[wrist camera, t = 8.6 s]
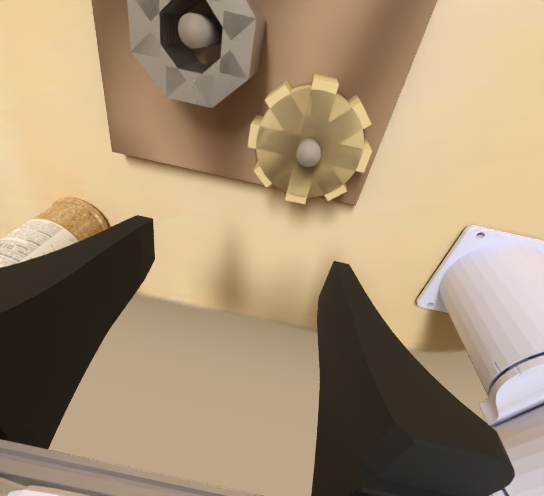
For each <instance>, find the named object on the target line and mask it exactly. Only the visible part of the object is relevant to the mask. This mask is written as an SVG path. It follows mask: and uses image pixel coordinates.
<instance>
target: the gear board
mask: <svg viewBox="0 0 544 496" xmlns="http://www.w3.org/2000/svg"><path fill="white" fill-rule="evenodd" d="M256 2H257V4H258V6H259V8H260V9H261V11H262V13H263V15H264V17H265V18H266V26H265V33H264V40H263V47H262V54H261V61H260V68H259V71H258V72H257V73H256V74H255V75H253V76H252V77H251V78H250V79H248V80H247V81H246V82H244V83H243V84H242V85H241V86H239V87H238V88H237V89H236V90H234V91H233V92H232V93H231V94H229V95H228V96H227V97H226V98H224V99H223V100H222V101H221V102H219V103H218V104H217V105H215V106H214V107H213V108H209V107H205V106H200V105H196V104H192V103H187V102H183V101H179V100H174V99H170V98H166V96H165V95H164V94H163V93H162V91H161V90H160V89H159V87H158V86H157V85H156V83H155V82H154V81H153V80H152V78H151V77H150V76H149V74H148V73H147V72H146V71H145V69H144V68H143V67H142V65H141V64H140V63H139V61H138V60H137V59H136V58H135V56H134V55H133V54H132V52H131V44H130V31H129V18H128V5H127V0H92V7H93V15H94V22H95V29H96V37H97V44H98V51H99V59H100V66H101V73H102V81H103V88H104V95H105V103H106V110H107V118H108V125H109V132H110V140H111V147H112V152H116V153H120V154H125V155H130V156H134V157H139V158H143V159H148V160H152V161H157V162H161V163H166V164H170V165H175V166H180V167H184V168H189V169H193V170H198V171H202V172H207V173H211V174H216V175H220V176H225V177H230V178H234V179H239V180H243V181H248V182H252V183H257V184H261V185H264V186H265V187H268V186H270V187H275V188H279V189H280V190H282V191H284V192H286V197H285V200H287V201H292V202H296V203H301V204H305V203H306V199H307V197H320V198H325V199H327V200H328V201H330V200H334V201H339V202H343V203H348V204H352V205H356V203H357V200H358V198H359V195H360V193H361V190H362V188H363V185H364V183H365V180H366V178H367V175H368V173H369V170H370V168H371V165H372V163H373V160H374V158H375V155H376V153H377V150H378V148H379V145H380V143H381V140H382V138H383V135H384V133H385V130H386V127H387V125H388V122H389V120H390V117H391V115H392V112H393V110H394V107H395V105H396V102H397V100H398V97H399V95H400V92H401V90H402V87H403V85H404V82H405V80H406V77H407V75H408V72H409V70H410V67H411V65H412V62H413V60H414V57H415V55H416V52H417V50H418V47H419V45H420V42H421V40H422V37H423V34H424V32H425V29H426V27H427V24H428V22H429V19H430V17H431V14H432V12H433V9H434V7H435V4H436V2H437V0H256ZM222 31H223V27H222V25H221V24H220V22H219V20H218V19H217V17H216V15H215V14H214V12H213V11H212V9H211V7H210V6H209V4H208V2H207V1H206V0H201V1H200V2H199V3H198V4H197V5H196V6H195V7H194V8H193V9H192V10H191V11H190V12H189V13H187V14H185V15H183V16H182V17H181V19H180V21H179V24H178V32H179V36H180V38H181V40H182V41H183V43H184V44H185V45H186V46H188V47H190V48H191V50H192V51H193V53H194V54H195V56H196V57H197V58H198V60H199V61H200V62H202V63H206V64H211V65H213V64H214V63H215V62H217V61H218V60H219V59H220V58H221V44H222Z"/></svg>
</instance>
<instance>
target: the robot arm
mask: <svg viewBox="0 0 544 496" xmlns="http://www.w3.org/2000/svg"><path fill="white" fill-rule="evenodd" d="M481 232H482V234H480V235H478V236H476V235H477V234H478V233H481ZM154 260H155V252H154V230H153V219H152V218H147V217H143V216H139V215H137V216H134V217H132V218H130V219H127V220H125V221H123V222H121V223H119V224H117V225H115V226H112V227H110V228H108V229H106V230H104V231H102V232H99V233H97V234H95V235H93V236H91V237H88V238H86V239H84V240H81V241H79V242H76V243H74V244H71V245H69V246H67V247H64V248H62V249H59V250H56V251H54V252H51V253H48V254H45V255H42V256H39V257H36V258H33V259H30V260H27V261H23V262H20V263H16V264H13V265H9V266H5V267H1V268H0V496H262V495H258V494H253V493H248V492H244V491H239V490H234V489H230V488H225V487H220V486H216V485H211V484H206V483H201V482H197V481H192V480H188V479H183V478H178V477H174V476H169V475H164V474H159V473H155V472H150V471H146V470H141V469H136V468H132V467H127V466H122V465H118V464H113V463H108V462H104V461H99V460H94V459H90V458H85V457H80V456H76V455H71V454H66V453H62V452H57V451H52V450H48V448H49V446H50V444H51V441H52V439H53V437H54V435H55V433H56V431H57V428H58V426H59V424H60V422H61V420H62V418H63V416H64V413H65V411H66V409H67V407H68V405H69V403H70V401H71V399H72V397H73V395H74V393H75V391H76V389H77V387H78V385H79V383H80V381H81V379H82V377H83V376H84V374H85V372H86V370H87V368H88V366H89V364H90V362H91V360H92V359H93V357H94V355H95V353H96V352H97V350H98V348H99V346H100V344H101V342H102V341H103V339H104V337H105V335H106V334H107V332H108V331H109V329H110V328H111V326H112V325H113V323H114V322H115V321H116V319H117V318H118V316H119V315H120V314H121V312H122V311H123V309H124V308H125V307H126V305H127V304H128V302H129V301H130V300H131V298H132V297H133V295H134V294H135V293H136V291H137V290H138V288H139V287H140V286H141V284H142V283H143V281H144V280H145V278H146V276H147V274H148V272H149V270H150V268H151V266H152V264H153V262H154ZM428 303H429V304H428ZM417 305H418V306H419V307H422V308H427V309H432V310H436V311H441V312H446V313H449V315H450V317H451V319H452V321H453V324H454V326H455V328H456V330H457V332H458V334H459V336H460V338H461V340H462V343H463V345H464V347H465V349H466V351H467V353H468V355H469V357H470V359H471V361H472V364H473V365H474V368H475V370H476V372H477V374H478V376H479V378H480V380H481V382H482V385H483V387H484V389H485V391H486V393H487V395H488V398H487V399H486V400H485V401H483V402H482V403H480V404H479V406H480V409H481V411H482V413H483V415H484V418H485V420H486V422H487V423H486V422H485V421H483V420H482V419H481V418H480V417H478V416H477V415H476V414H474V412H472V411H471V410H470V409H468V408H467V407H466V406H465V405H464V404H462V403H461V402H460V401H459V400H458V399H457V398H456V397H455V396H453V395H452V394H451V393H450V392H449V391H448V390H447V389H446V388H445V387H444V386H442V385H441V384H440V383H439V382H438V381H437V380H436V379H435V378H434V377H433V376H432V375H431V374H430V373H429V372H428V371H427V370H426V369H425V368H424V367H423V366H422V365H421V364H420V363H419V362H418V361H417V360H416V359H415V358H414V357H413V355H412V354H411V353H410V352H409V351H408V350H407V349H406V347H405V346H404V345H403V344H402V343H401V341H400V340H399V339H398V338H397V337H396V336H395V334H394V333H393V332H392V330H391V329H390V328H389V327H388V325H387V324H386V322H385V321H384V320H383V318H382V317H381V315H380V314H379V313H378V311H377V310H376V308H375V307H374V305H373V304H372V302H371V300H370V299H369V297H368V296H367V294H366V292H365V291H364V289H363V287H362V286H361V284H360V282H359V281H358V279H357V277H356V275H355V274H354V272H353V270H352V268H351V267H350V265H349V264H345V263H341V262H336V261H334V262H333V264H332V267H331V269H330V272H329V274H328V276H327V279H326V281H325V284H324V286H323V288H322V291H321V293H320V296H319V301H318V314H317V329H318V346H319V347H318V348H319V366H320V391H319V411H318V427H317V440H316V452H315V465H314V475H313V485H312V494H311V496H489V495H491V496H544V240H540V239H535V238H530V237H526V236H521V235H517V234H512V233H508V232H503V231H499V230H494V229H490V228H485V227H481V226H476V225H471V226H468V227H467V228H466V229H465V230H464V231H463V232H462V234H461V235H460V237H459V238H458V240H457V241H456V243H455V244H454V246H453V247H452V249H451V250H450V252H449V253H448V254H447V256H446V257H445V259H444V260H443V262H442V263H441V265H440V266H439V268H438V269H437V271H436V272H435V274H434V275H433V276H432V278H431V279H430V281H429V282H428V284H427V285H426V287H425V288H424V290H423V291H422V293H421V294H420V296H419V297H418V298H417Z"/></svg>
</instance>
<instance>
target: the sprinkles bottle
mask: <svg viewBox="0 0 544 496" xmlns="http://www.w3.org/2000/svg"><path fill="white" fill-rule="evenodd" d="M106 229H108V226H107V223H106V221H105V219H104V217H103V216H102V215H101V213H100V212H99V211H98V210H97V209H96V208H94V207H93V206H91V205H90V204H88V203H86V202H84V201H82V200H79V199H74V198H62V199H59V200H58V201H56V202H55V203H54V204H53V205H52V207H50V208H49V209H47V210H46V211H45V212H43V213H41V214H40V215H38V216H37V217H35V218H34V219H32V220H30V221H28V222H26V223H24V224H23V225H21V226H20V227H18V228H17V229H15V230H14V231H12V232H11V233H9V234H8V235H6V236H5V237H3V238H2V239H0V268H1V267H5V266H9V265H13V264H16V263H20V262H23V261H27V260H30V259H33V258H36V257H39V256H42V255H45V254H48V253H51V252H54V251H56V250H59V249H62V248H64V247H67V246H69V245H71V244H74V243H76V242H79V241H81V240H84V239H86V238H88V237H91V236H93V235H95V234H97V233H99V232H102V231H104V230H106Z"/></svg>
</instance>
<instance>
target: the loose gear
mask: <svg viewBox="0 0 544 496" xmlns="http://www.w3.org/2000/svg"><path fill="white" fill-rule="evenodd" d="M200 1H201V0H127V5H128V18H129V31H130V44H131V52H132V54H133V55H134V56H135V58H136V59H137V60H138V61H139V63H140V64H141V65H142V67H143V68H144V69H145V71H146V72H147V73H148V74H149V76H150V77H151V78H152V80H153V81H154V82H155V83H156V85H157V86H158V87H159V89H160V90H161V91H162V93H163V94H164V95H165V96H166V98H170V99H174V100H179V101H183V102H187V103H192V104H196V105H200V106H205V107H209V108H213V107H214V106H215V105H217V104H218V103H219V102H221V101H222V100H223V99H224V98H226V97H227V96H228V95H229V94H231V93H232V92H233V91H234V90H236V89H237V88H238V87H239V86H241V85H242V84H243V83H244V82H246V81H247V80H248V79H250V78H251V77H252V76H253V75H255V74H256V73H257V72H258V71H259V68H260V61H261V54H262V47H263V40H264V33H265V26H266V18H265V17H264V15H263V13H262V11H261V9H260V8H259V6H258V4H257V2H256V0H206V1H207V2H208V4H209V6H210V7H211V9H212V11H213V12H214V14H215V15H216V17H217V19H218V20H219V22H220V24H221V25H222V27H223V31H222V44H221V58H220V59H219V60H218V61H217V62H215V63H214V64H213V65H211V64H206V63H202V62H200V61H199V60H198V58H197V57H196V56H195V54H194V53H193V51H192V50H191V48H190V47H188V46H186V45H185V44H184V43H183V41H182V40H181V38H180V36H179V32H178V24H179V21H180V19H181V17H182V16H183V15H185V14H187V13H189V12H190V11H191V10H192V9H193V8H194V7H195V6H196V5H197V4H198V3H199V2H200Z"/></svg>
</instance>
